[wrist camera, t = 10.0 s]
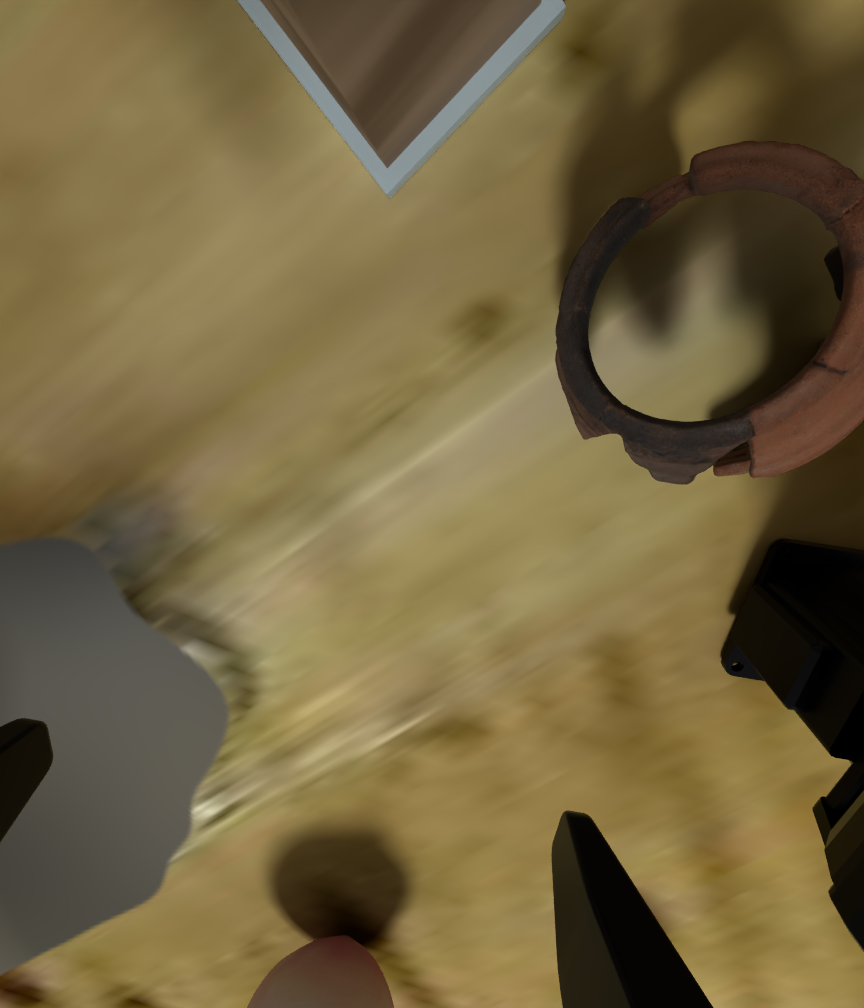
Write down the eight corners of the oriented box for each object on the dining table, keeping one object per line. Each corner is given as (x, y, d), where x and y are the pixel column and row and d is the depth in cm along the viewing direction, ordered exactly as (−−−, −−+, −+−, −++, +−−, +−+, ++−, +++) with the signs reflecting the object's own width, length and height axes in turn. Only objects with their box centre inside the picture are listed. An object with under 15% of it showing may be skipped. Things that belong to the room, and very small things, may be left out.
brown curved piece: (653, 518, 20) (612, 547, 13) (557, 325, 22) (475, 259, 15) (1058, 357, 14) (1373, 254, 7) (886, 106, 16) (1010, -178, 9)
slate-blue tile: (562, 18, 14) (566, 5, 14) (389, 198, 16) (386, 194, 16) (407, -233, 13) (403, -258, 12) (237, 0, 15) (227, -12, 14)
